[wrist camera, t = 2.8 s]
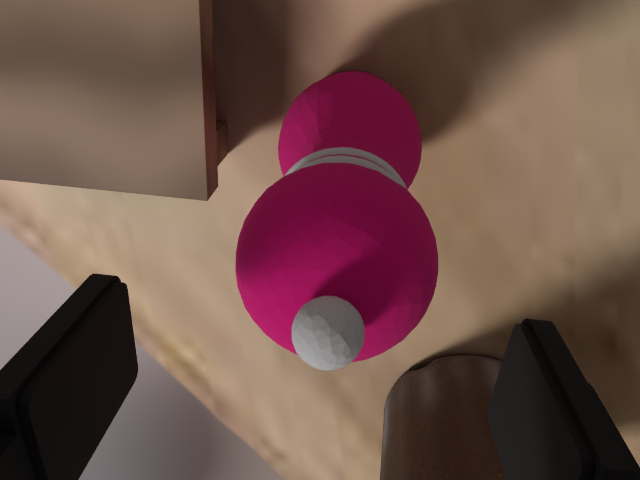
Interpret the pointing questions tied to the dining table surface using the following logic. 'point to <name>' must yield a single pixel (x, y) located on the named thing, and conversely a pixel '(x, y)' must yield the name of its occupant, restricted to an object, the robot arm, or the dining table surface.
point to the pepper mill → (340, 227)
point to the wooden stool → (110, 96)
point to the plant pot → (442, 422)
